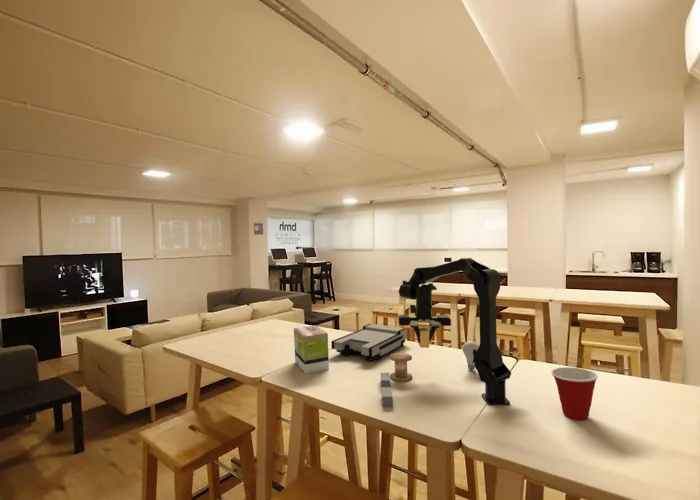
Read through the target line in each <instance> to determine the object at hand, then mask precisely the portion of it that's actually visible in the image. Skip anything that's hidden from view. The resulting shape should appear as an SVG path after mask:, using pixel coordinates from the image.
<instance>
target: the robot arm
mask: <svg viewBox="0 0 700 500" xmlns="http://www.w3.org/2000/svg"><path fill="white" fill-rule="evenodd" d="M460 272H463V274H464V275H465V277H466V278H467V279H468V280H469V281H471V282H472V284H473V285H472V286H473V290H474V292H475V294H476V296H477V297H478V307H479V308H478V310H479V313H478V314H479V317H478V319H479V320H478V321H479V344H478V346H479V348H476V349H473V357H474V359H473V363H474V362H475V370H476V371H477V374H478V377H479V381H480V382H482V383H484V386H485V387H484V391H485V392H484V393H481V396H482V398H483V399H484V401H485V402H486V403H487V404H488V405H511V402H510V400H509V399H508V398H507V395H506V389H507V387H506V380H510V378H511V376H512V371H510V369H509V368H508V367H507V365H506V364H505V363H504V359H503V354H502V351H501V350H500V348H499V346H498V341H497V335H498V334H497V305H496V304H497V302H496V301H497V298H498V297H497V296H498V295H499V292H500V290H501V284H502V275H501V274H500V272H499V271H497V269H494V268H490V267H489V266H487V265H485V264H482V263H480V262H478V261H476V260H474V259H473V258H472V257H464V258H459V259H457V260H454V261H450V262H446V263H443V264H440V265H436V266H426V267H424V266H423V267H416V268H415V269H414V270H413V272H412V275H411V277H410V278H409V280H407V279H405V280H402V283H401V285H400V286H399V289H398V294H399V296H400V297H401V298H404V299H410V300H415V304H410V305H409V313H410V314H414V317H412V316H411V317H410V315H409V314H399V315H398V316H397V323H398V326H409V327H410V329H411V328H412V329H413V331H414V334H415V337H416V339H417V342H418V344H419V343H420V335H419V328H420V327H419V323H428V330H429V344H430V343H431V341H432V338H433V337H434V334H435V332H436V331H437V329H440V325H439V324H441V326H444V327H450V326H452V319H451V317H449V316H448V315H447V314H437V317H433V300H432V299H433V291H437V290H438V287H436V286H435V285H434V283H432V282H434V281H436V280H438V279H439V278H441V277H444V276H449V275H452V274H455V273H460ZM427 283H428V284H427Z"/></svg>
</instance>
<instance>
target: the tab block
mask: <svg viewBox="0 0 700 500" xmlns="http://www.w3.org/2000/svg"><path fill="white" fill-rule="evenodd" d="M419 335H420V343H418V346H419V347H420V348H421V349H422V348H423V349H425V348H427V349H428V348H430V343H429V328H427V327H419Z"/></svg>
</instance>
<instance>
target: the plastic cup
mask: <svg viewBox="0 0 700 500" xmlns="http://www.w3.org/2000/svg"><path fill="white" fill-rule="evenodd" d="M550 372H551V375H552V376H553V378H554V381H555V383H556V386H557V387H556V388H557V393H558V397H559V401H560V405H561V409H562V413H563V415H564V416H565V417H567V418H569V419H571V420H575V421H586V420H588V419H589V415H590V411H591V407H592V402H593V396H594V390H595V386H596V381H597V379H598V378H599V376H598V373H596V372H594V371H592V370H589V369H585V368H580V367H569V366H568V367H564V366H563V367H556V368H553V369H551V371H550Z"/></svg>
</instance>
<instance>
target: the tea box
mask: <svg viewBox="0 0 700 500" xmlns="http://www.w3.org/2000/svg"><path fill="white" fill-rule="evenodd" d="M293 339H294V340H293V342H294V362H295V363H296V364H297V365H298V367H299V368H300V369H301V370H302V371H303V372H304V374H305V373H308V374H312V372H313V373H317V372H323V371H328V370H329V369H330V361H329V337H328V332H326V331H325V330H324V329H323V328H321V327H318V326H317V325H315V324H314V325H306V326H302V327H294V328H293Z"/></svg>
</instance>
